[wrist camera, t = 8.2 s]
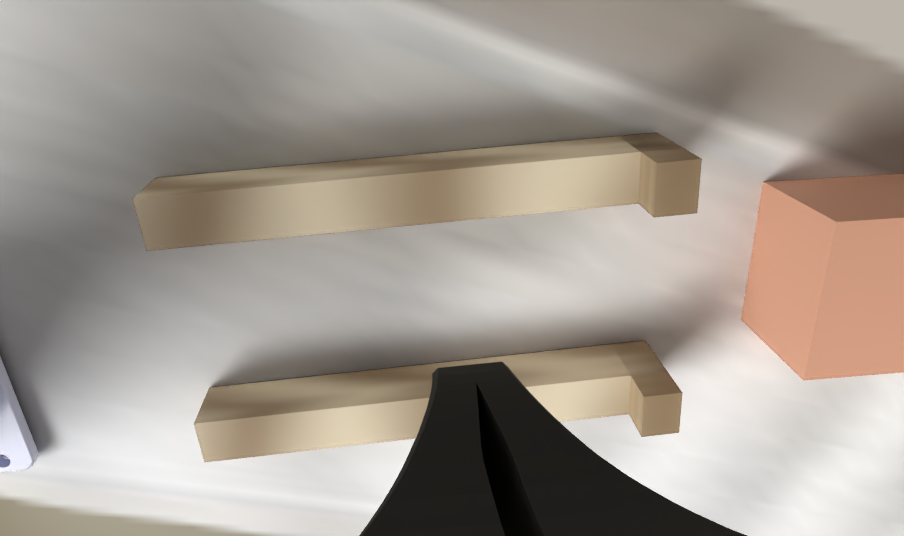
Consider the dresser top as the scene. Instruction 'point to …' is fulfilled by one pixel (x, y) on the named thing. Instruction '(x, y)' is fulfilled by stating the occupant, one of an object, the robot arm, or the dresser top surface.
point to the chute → (414, 203)
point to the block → (830, 275)
